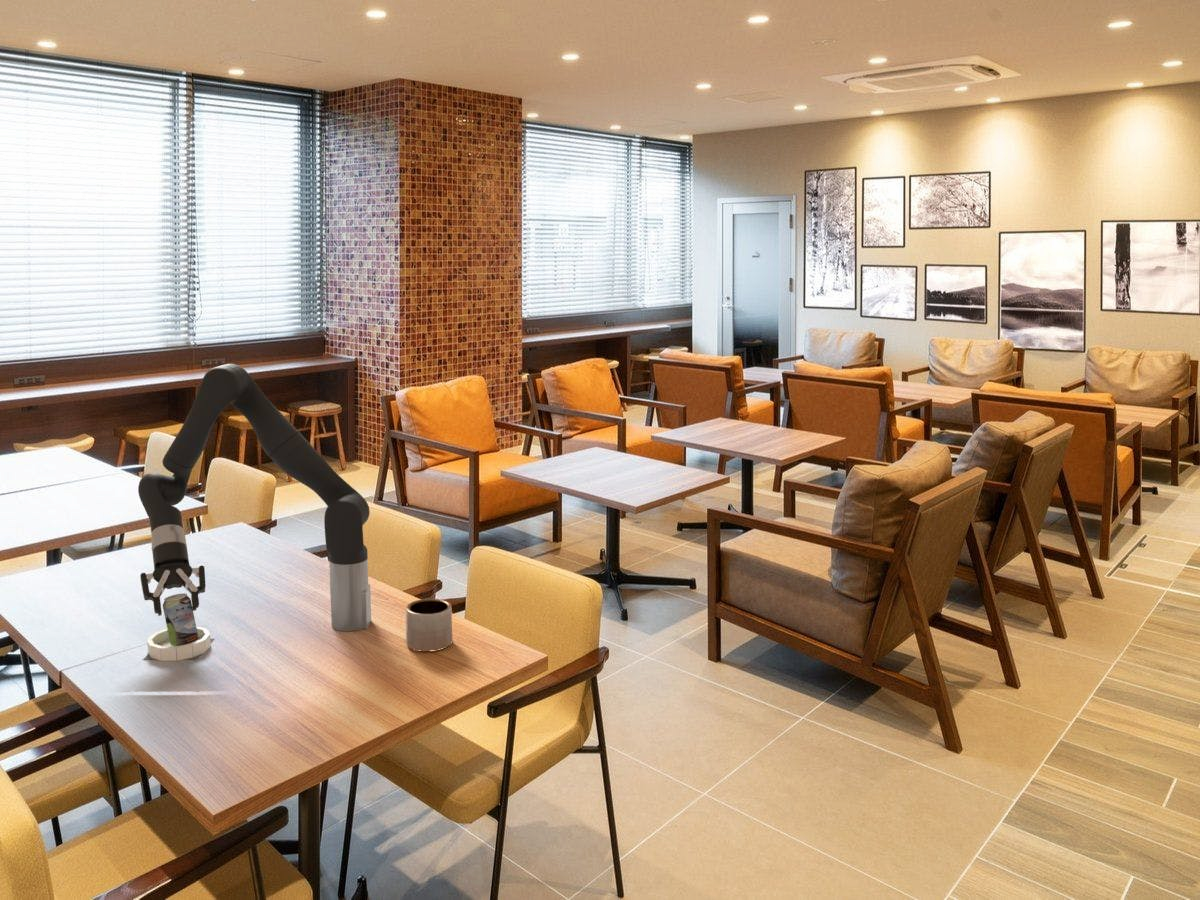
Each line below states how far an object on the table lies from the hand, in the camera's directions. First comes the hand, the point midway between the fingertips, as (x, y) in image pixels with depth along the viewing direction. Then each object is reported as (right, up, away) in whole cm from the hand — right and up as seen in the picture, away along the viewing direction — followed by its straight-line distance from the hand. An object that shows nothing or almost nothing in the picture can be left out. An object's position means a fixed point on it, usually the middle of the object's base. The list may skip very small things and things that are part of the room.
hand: (177, 611), depth 219 cm
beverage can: (0, -9, +4) cm, 9 cm away
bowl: (-1, -9, +3) cm, 10 cm away
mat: (-1, -10, +3) cm, 10 cm away
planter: (+56, -10, +11) cm, 58 cm away
